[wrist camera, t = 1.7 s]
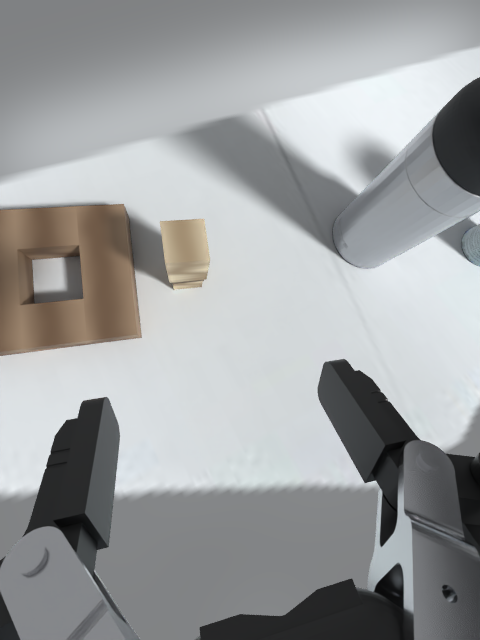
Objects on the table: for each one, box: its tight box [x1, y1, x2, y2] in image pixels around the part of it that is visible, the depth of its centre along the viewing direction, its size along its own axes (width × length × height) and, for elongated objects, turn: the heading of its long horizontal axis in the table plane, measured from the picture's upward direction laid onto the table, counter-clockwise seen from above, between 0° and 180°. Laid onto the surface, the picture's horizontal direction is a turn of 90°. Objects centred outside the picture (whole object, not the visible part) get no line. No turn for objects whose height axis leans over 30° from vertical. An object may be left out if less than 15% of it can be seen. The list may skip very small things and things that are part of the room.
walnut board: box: [0, 204, 142, 356], centre depth 33 cm, size 16×15×3 cm
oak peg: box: [160, 219, 210, 290], centre depth 32 cm, size 4×4×10 cm
